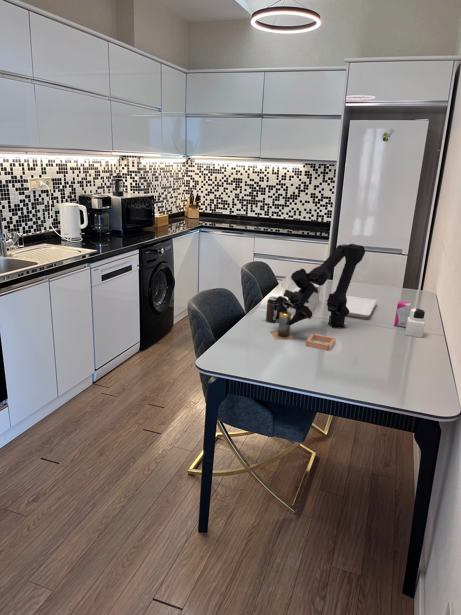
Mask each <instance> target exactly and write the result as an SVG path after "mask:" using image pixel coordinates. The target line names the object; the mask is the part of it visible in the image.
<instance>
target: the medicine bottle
mask: <svg viewBox="0 0 461 615" xmlns="http://www.w3.org/2000/svg"><path fill="white" fill-rule="evenodd" d="M425 314H426V312H425V311H424V310H423V309H422V308H412V309H410V311H409V317H408V319H407V324H406V328H405V336H407V337H414V338H423V335H424V330H425V326H426V323H425Z"/></svg>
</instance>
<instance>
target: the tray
mask: <svg viewBox="0 0 461 615" xmlns="http://www.w3.org/2000/svg"><path fill="white" fill-rule="evenodd" d="M346 298H347V303H346V307H347V308H348V309H349V314H348V315H347V317H352V318H358V319H359V318H360V319H365V318H367V317H370V316H371V314H372V313H373V310H374V308H375V306H376V304H377V299H372V298H365V297H359V296H358V297H357V296H349V295H346Z"/></svg>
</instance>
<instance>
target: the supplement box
mask: <svg viewBox="0 0 461 615" xmlns="http://www.w3.org/2000/svg"><path fill="white" fill-rule="evenodd" d="M411 304H412V303H411V302H407V301H398V302H397V304H396V312H395V317H394V324H393V327H400V328H403V329H406V324H407V319H408V317H410V312H411Z"/></svg>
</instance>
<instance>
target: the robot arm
mask: <svg viewBox="0 0 461 615" xmlns="http://www.w3.org/2000/svg"><path fill="white" fill-rule="evenodd" d="M365 253H366V249H365V246H363V245H361V244H355V243H349V244H338V245H337V247H336V249H334V251H333V252H332V253H331V254H330V256H328V257H327V258H326V259H325V260H324V262H323V263H322V264H320V265H319V266H316V267H314V268H313V269H311V270H310V271H309V272H307V270H306V269H305V268H300V269H299V270H296V271H294V272H293V273H292V274H291V275H290V279H291V280H292V281H293V283H294V284H295V285H296V286H297V287H298V288H300V290H299V291H298V292H297V291H295V292H292V290H289V289H285V290H284V293H283V295H279V296H277V297H278V298H277V299H276V300H277V302H278V304H279V309H278V312H277V315H276V318H275V319H276V320H277V319H279V316H280V312H287V311H288V310H287V309H288V308H289V307H291V308H293V309H295V310H296V312H295V315H294V316H291V320H290V322H289V323H288V325H289V326H290V327H291V326H292V325H294V324H297V323H298V322H300V321H303V320H311V318H312V317H313V311H311V310H310V309H309V307H307V306H305V305H304V304H305V303H309V301H308V299H309V298H310V297H311V295H312V294H313V293H317V294H318V287H315V286H314V284H316V285H319V286H323V285H324V284H326V282H327V280H328V279H329V276H330V273H331V272H332V271H333V269H334V268H335V267H336V266H337V265H338V264H339V263H340V262H341V261H342V259H344V258H345V262H344V266H343V268H342V271H341V275H340V277H339V280H338V283H337V286H336V289H335V291H333V293H331V292H330V293H329V295H328V298H327V300H326V306H327V311H328V312H330V314H329V316H328V322H327V324H328V325H329V326H330V327H332V329H333V328H338V329H339V328H342V329H343V328H346V326H345V321H346V316H347V315H348V314H349V309H348V308H347V307H346V303H347V298H346V296H347V293H348V290H349V286H350V284H351V281H352V278H353V276H354V274H355V273H354V272H355V270H356V267H357V265H358V264H360V262H361V261H362V260H363V258H364V256H365ZM310 282H311V283H310ZM288 300H289V301H290V302H289V301H288ZM347 317H348V316H347Z"/></svg>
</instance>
